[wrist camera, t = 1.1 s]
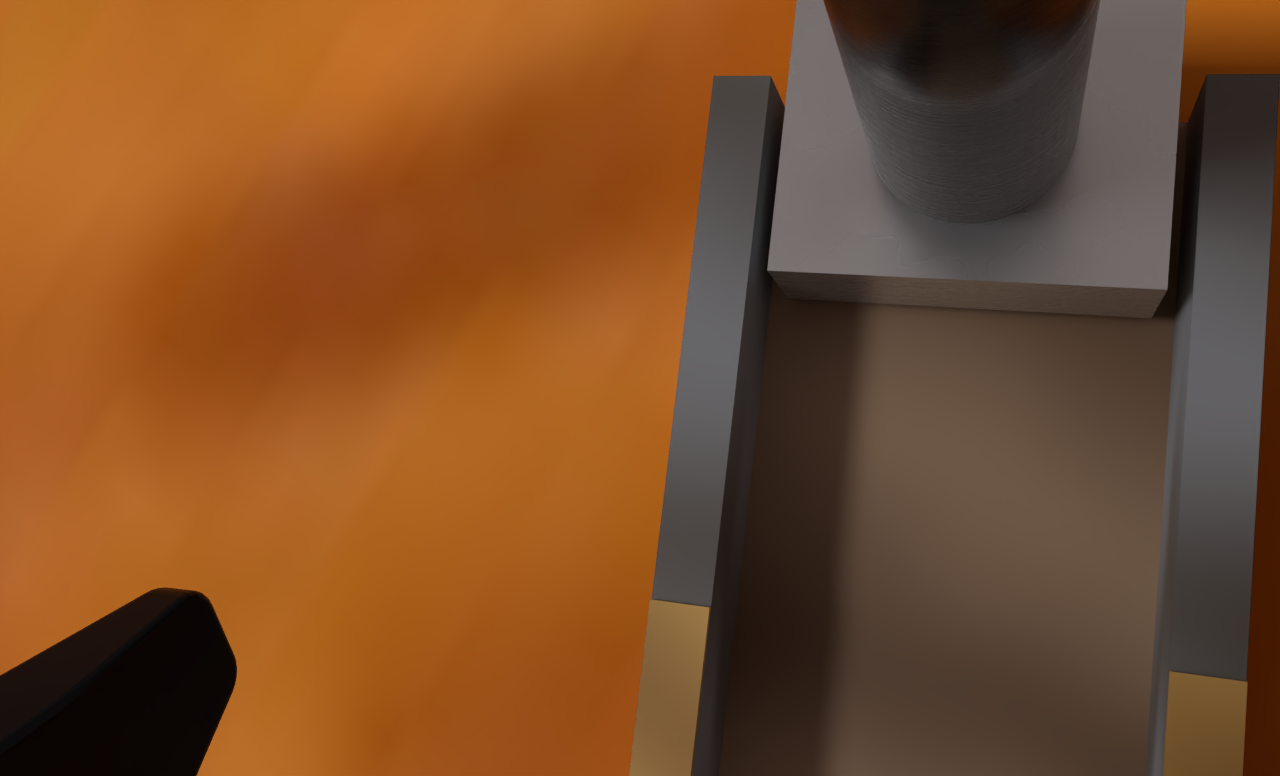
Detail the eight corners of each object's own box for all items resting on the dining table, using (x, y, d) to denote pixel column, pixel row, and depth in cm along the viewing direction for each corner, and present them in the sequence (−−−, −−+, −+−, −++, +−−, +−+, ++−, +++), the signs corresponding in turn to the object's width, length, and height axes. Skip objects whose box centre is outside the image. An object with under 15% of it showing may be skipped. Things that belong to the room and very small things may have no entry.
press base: (1163, 1467, 18) (1213, 1741, 14) (618, 1288, 21) (518, 1471, 16) (1241, 144, 21) (1304, 29, 16) (749, 137, 23) (692, 38, 19)
